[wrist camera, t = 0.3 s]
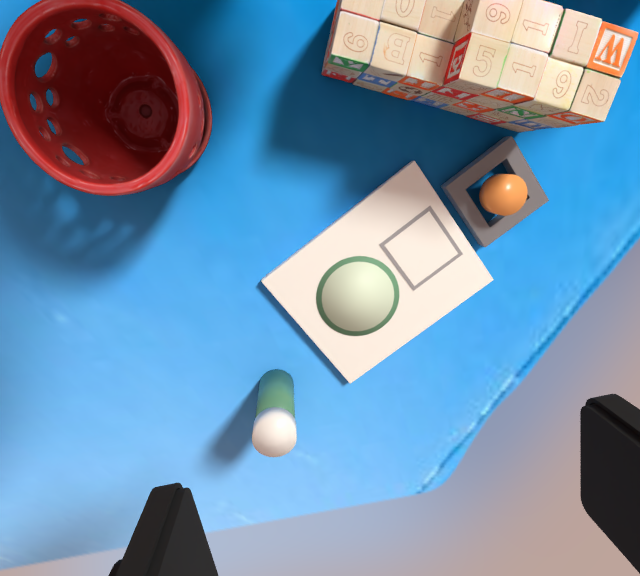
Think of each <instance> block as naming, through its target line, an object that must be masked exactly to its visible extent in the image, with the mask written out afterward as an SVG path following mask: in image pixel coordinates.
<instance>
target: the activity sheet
mask: <svg viewBox="0 0 640 576" xmlns="http://www.w3.org/2000/svg"><path fill="white" fill-rule="evenodd" d="M491 281H493V278H492V277H491V275H490V274H489V272H488V271H487V269H486V268H485V266H484V265H483V263H482V261H481V260H480V258H479V257H478V255H477V254H476V252H475V251H474V249H473V248H472V246H471V245H470V243H469V242H468V240H467V239H466V237H465V236H464V234H463V233H462V231H461V230H460V228H459V227H458V225H457V224H456V222H455V221H454V219H453V218H452V216H451V215H450V213H449V212H448V210H447V209H446V207H445V206H444V204H443V203H442V201H441V200H440V198H439V197H438V195H437V194H436V192H435V191H434V189H433V188H432V186H431V185H430V183H429V182H428V180H427V179H426V177H425V176H424V174H423V173H422V171H421V169H420V168H419V166H418V165H417V163H416V162H415V161H411V162H410V163H408V164H407V165H406V166H405V167H403V168H402V169H401V170H399V171H398V172H397V173H396V174H394V175H393V176H392V177H391V178H389V179H388V180H387V181H385V182H384V183H383V184H382V185H380V186H379V187H378V188H377V189H375V190H374V191H373V192H371V193H370V194H369V195H368V196H366V197H365V198H364V199H363V200H361V201H360V202H359V203H357V204H356V205H355V206H354V207H352V208H351V209H350V210H349V211H347V212H346V213H345V214H344V215H342V216H341V217H340V218H338V219H337V220H336V221H335V222H333V223H332V224H331V225H330V226H328V227H327V228H326V229H324V230H323V231H322V232H321V233H319V234H318V235H317V236H316V237H314V238H313V239H312V240H310V241H309V242H308V243H307V244H305V245H304V246H303V247H302V248H300V249H299V250H298V251H296V252H295V253H294V254H293V255H291V256H290V257H289V258H288V259H286V260H285V261H284V262H282V263H281V264H280V265H279V266H277V267H276V268H275V269H274V270H272V271H271V272H270V273H268V274H267V275H266V276H265V277H263V278H262V280H261V282H262V283H263V284H264V285H265V286H266V287H267V289H268V290H269V291H270V292H271V293H272V294H273V295H274V297H275V298H276V299H277V300H278V301H279V302H280V303H281V305H282V306H283V307H284V308H285V309H286V310H287V312H288V313H289V314H290V315H291V316H292V317H293V318H294V320H295V321H296V322H297V323H298V324H299V325H300V326H301V328H302V329H303V330H304V331H305V332H306V333H307V335H308V336H309V337H310V338H311V339H312V340H313V341H314V343H315V344H316V345H317V346H318V347H319V348H320V349H321V351H322V352H323V353H324V354H325V355H326V356H327V358H328V359H329V360H330V361H331V362H332V363H333V364H334V366H335V367H336V368H337V369H338V370H339V371H340V372H341V374H342V375H343V376H344V377H345V378H346V379H347V381H348V382H349V383H352V382H353V381H355V380H356V379H357V378H359V377H360V376H361V375H363V374H364V373H366V372H367V371H368V370H370V369H371V368H373V367H374V366H375V365H377V364H378V363H379V362H381V361H382V360H384V359H385V358H386V357H388V356H389V355H390V354H392V353H393V352H395V351H396V350H397V349H399V348H400V347H401V346H403V345H404V344H406V343H407V342H408V341H410V340H411V339H413V338H414V337H415V336H417V335H418V334H419V333H421V332H422V331H424V330H425V329H426V328H428V327H429V326H430V325H432V324H433V323H435V322H436V321H437V320H439V319H440V318H442V317H443V316H444V315H446V314H447V313H448V312H450V311H451V310H453V309H454V308H455V307H457V306H458V305H459V304H461V303H462V302H464V301H465V300H466V299H468V298H469V297H471V296H472V295H473V294H475V293H476V292H477V291H479V290H480V289H482V288H483V287H484V286H486V285H487V284H488V283H490V282H491Z"/></svg>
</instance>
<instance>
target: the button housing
mask: <svg viewBox="0 0 640 576" xmlns="http://www.w3.org/2000/svg"><path fill="white" fill-rule="evenodd" d="M501 162H502V164H503V165H504V167H505V169H506V170H507V172H508V174H513V175H517V176H519V177H521V178H522V179H523V180H524V182H525V183H526V186H527V192H528V193H527V199H526V201H525V203H524V205H523V206H522V208H521V209H520V210H519V211H517V212H516V213H514V214H512V215H508V216H503V215H497V216H496V217H494V218H493V219H492V220H490V221H489V222H488V223H487V222H486V221H485V219H484V218H483V216H482V215H481V213H480V211H479V210H478V208H477V207H476V205H475V204H474V202H473V200H472V199H471V197H470V196H469V194H468V193H467V191H466V189H467V188H468V187H469V186H471V185H472V184H473V183H475V182H476V181H477V180H479V179H480V178H481V177H483V176H484V175H485V174H487V173H488V172H489V171H490V170H492V169H493V168H494V167H496V166H497V165H498V164H500V163H501ZM441 188H442V189H443V191H444V192H445V194H446V195H447V197H448V198H449V200H450V201H451V203H452V204H453V206H454V207H455V209H456V211H457V212H458V214H459V215H460V217H461V218H462V220H463V221H464V223H465V224H466V226H467V227H468V229H469V230H470V232H471V233H472V235H473V236H474V238H475V239H476V241H477V243H478V244H479V245H481V246H483V247H486V246H488V245H489V244H490V243H492V242H493V241H494V240H496V239H497V238H499V237H500V236H501V235H503V234H504V233H505V232H507V231H508V230H509V229H511V228H512V227H513V226H515V225H516V224H518V223H519V222H520V221H522V220H523V219H524V218H526V217H527V216H528V215H530V214H531V213H532V212H534V211H535V210H537V209H538V208H539V207H541V206H542V205H543V204H545V203H546V202H547V201H549V200H548V198H547V196H546V195H545V193H544V191H543V189H542V188H541V186H540V184H539V182H538V181H537V179H536V177H535V175H534V174H533V172H532V170H531V168H530V167H529V165H528V163H527V161H526V160H525V158H524V156H523V154H522V153H521V151H520V149H519V148H518V146H517V144H516V142H515V141H514V139H513V137H512V136H508V137H504V138H502V139H501V140H500V141H498V142H497V143H496V144H495V145H493V146H492V147H491V148H489V149H488V150H487V151H485V152H484V153H483V154H482V155H480V156H479V157H478V158H476V159H475V160H474V161H472V162H471V163H470V164H469V165H467V166H466V167H465V168H463V169H462V170H461V171H459V172H458V173H457V174H456V175H454V176H453V177H452V178H450V179H449V180H448V181H446V182H445V183H444V184H443V185H441Z"/></svg>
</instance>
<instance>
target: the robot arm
mask: <svg viewBox="0 0 640 576" xmlns="http://www.w3.org/2000/svg"><path fill="white" fill-rule="evenodd" d="M581 501H582V504H583V506H584V509H585V510H586V512H587V514H588V515H589V516H590V517H591V518H592V520H593V521H594V522H595V523H596V524H597V525H598V526H599V528H600V529H601V530H603V532H604V533H605V534H606V535H607V537H608V538H609V539H610V540H611V541H612V542H613V543H614V545H615V546H616V547H617V548H618V549H619V550H620V551H621V552H622V554H623V555H624V556H625V557H626V558H627V559H628V560H629V562H630V563H631V564H632V565H633V566H634V567H635V569H636V570H637V571H638V572H639V573H640V410H639V409H638V408H637V407H635V406H634V405H632V404H631V403H629V402H628V401H626V400H625V399H623V398H622V397H620V396H618V395H616V394H610V395H604V396H599V397H595V398H590V399H588V400H587V402H586V405H585V406H584V407H582V409H581ZM109 576H218V573H217V570H216V567H215V564H214V561H213V558H212V554H211V551H210V549H209V545H208V542H207V539H206V536H205V533H204V530H203V527H202V523H201V520H200V517H199V514H198V511H197V508H196V505H195V502H194V499H193V496H192V493H191V490H190V489H189V488H183V487H182V485H181V484H180V483H174V484H169V485H164V486H159V487H155V488H153V489H152V491H151V493H150V495H149V497H148V500H147V502H146V504H145V507H144V509H143V512H142V514H141V516H140V519H139V521H138V524H137V526H136V528H135V531H134V533H133V535H132V538H131V540H130V543H129V545H128V547H127V550H126V552H125V554H124V557H123V559H122V560H119V561H118V562H116V563H115V564H114V566H113V568H112V570H111V572H110V574H109Z"/></svg>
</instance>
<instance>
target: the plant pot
mask: <svg viewBox="0 0 640 576" xmlns="http://www.w3.org/2000/svg"><path fill="white" fill-rule="evenodd" d="M78 19H87V20H85V21H82V22H74V21H75V20H78ZM104 24H109V25H104ZM53 29H56V31H55V32H54V34H52V35H51V36H49V37H47V38H45V37H46V35H47V34H48V33H49V32H50V31H51V30H53ZM73 36H75V37H74V38H73V39H71V40H70V41H66V40H67V39H68V38H70V37H73ZM48 52H50V53H51V54H52V63H51V66H50V68H49V70H48V72H47V73H46V74H45V75H44V76H43V77H40V78H38V77H37V76H36V74H35V64H36V62H37V60H38V59H39V58H40V57H41V56H42V55H44V54H46V53H48ZM48 89H50V90H51V92H52V94H53V104H52V106H50V105H49V104H48V102H47V100H46V91H47V90H48ZM30 94H32V95H33V96H34V97H35V99H36V104H37V108H36V111H35V110H34V109H33V108H32V106H31V103H30ZM0 102H1V105H2V109H3V112H4V115H5V118H6V120H7V123H8V125H9V127H10V129H11V131H12V133H13V135H14V137H15V138H16V140H17V141H18V143H19V144H20V146H21V147H22V148H23V150H24V151H25V152H26V153H27V155H28V156H29V157H30V158H31V159H32V160H33V161H34V162H35V164H37V165H38V166H39V167H40V168H41V169H42V170H44V171H45V172H46V173H47V174H49V175H50V176H51V177H53V178H54V179H56V180H57V181H59V182H61V183H63V184H65V185H66V186H69V187H71V188H73V189H76V190H79V191H82V192H86V193H90V194H95V195H104V196H117V195H127V194H133V193H138V192H142V191H145V190H148V189H151V188H153V187H156V186H159V185H162V184H164V183H166V182H168V181H170V180H171V179H173V178H174V177H176V176H177V175H178V174H180V173H182V172H184V171H186V170H187V169H189V168H190V167H191V166H192V165H193V164H194V163H195V162H196V161H197V160H198V159H199V158H200V156H201V155H202V153H203V152H204V150H205V148H206V146H207V144H208V141H209V138H210V134H211V129H212V111H211V105H210V100H209V97H208V94H207V92H206V89H205V87H204V85H203V83H202V81H201V80H200V78H199V77H198V75H197V74H196V72H195V71H194V70H193V69H192V67H191V66H190V65H189V63H188V62H187V60H186V58H185V57H184V56H183V54H182V53H181V52H180V50H179V49H178V48H177V46H176V45H175V44H174V43H173V42H172V41H171V40H170V38H169V37H168V36H167V35H166V34H165V33H164V32H163V31H162V30H161V29H160V28H159V27H158V26H157V25H156V24H155V23H153V22H152V21H151V20H150V19H149V18H147V17H146V16H145V15H144V14H142V13H141V12H139V11H138V10H136V9H135V8H133V7H132V6H130V5H128V4H126V3H124V2H122V1H120V0H41V1H40V2H38V3H36V4H34V5H33V6H31V7H30V8H28V9H27V10H26V11H25V12H24V13H22V14H21V15H20V16H19V17H18V18H17V20H16V21H15V22H14V24H13V25H12V27H11V28H10V30H9V31H8V33H7V35H6V38H5V40H4V42H3V45H2V48H1V51H0ZM47 119H48V120H50V121H51V122H52V124H53V125H54V128H55V130H56V134H54V133H53V132H52V131H51V129H50V127H49V125H48V123H47ZM39 131H40V132H41V133H42V135H43V136H42V135H41V134H40V132H39ZM62 146H65V147H68V148H69V149H71V150H72V151H74V152H75V153H76V154H77V155H78V156H79V157H80V158H81V160H82V161H83V163H84V165H80V164H77V163H75V162H74V161H72V160H71V159H69V158H68V157H67V156H66V154H65V153H64V152H63V150H62Z"/></svg>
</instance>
